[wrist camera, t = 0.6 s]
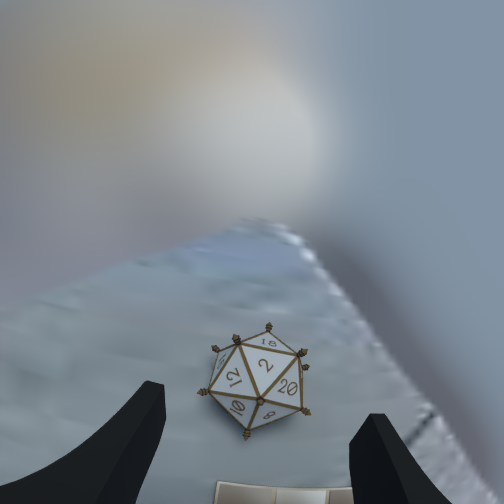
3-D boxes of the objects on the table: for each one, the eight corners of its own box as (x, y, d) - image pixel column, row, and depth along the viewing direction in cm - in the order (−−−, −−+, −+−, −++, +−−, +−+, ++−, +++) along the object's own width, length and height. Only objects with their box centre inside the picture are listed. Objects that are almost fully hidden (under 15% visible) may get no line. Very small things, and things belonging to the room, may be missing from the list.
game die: (260, 390, 30) (340, 341, 26) (250, 462, 22) (351, 422, 18) (189, 341, 28) (266, 278, 24) (161, 415, 20) (255, 359, 16)
